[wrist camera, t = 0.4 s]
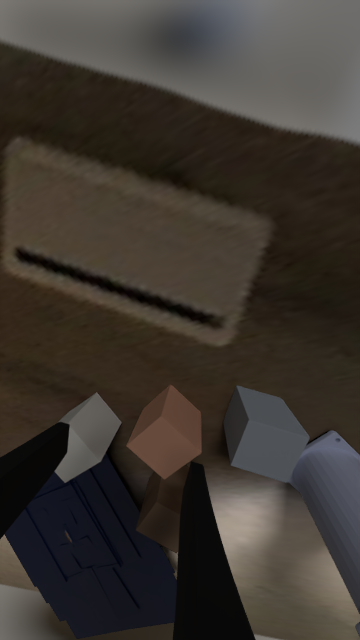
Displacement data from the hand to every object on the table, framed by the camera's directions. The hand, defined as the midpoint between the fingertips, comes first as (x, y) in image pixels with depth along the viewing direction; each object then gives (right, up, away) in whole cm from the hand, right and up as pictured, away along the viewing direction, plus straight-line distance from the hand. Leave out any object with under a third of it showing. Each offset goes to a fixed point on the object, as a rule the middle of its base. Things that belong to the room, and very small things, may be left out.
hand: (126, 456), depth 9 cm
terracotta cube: (+2, -3, +11) cm, 12 cm away
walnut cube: (+2, -13, +13) cm, 18 cm away
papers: (-12, -23, +17) cm, 31 cm away
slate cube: (+11, -3, +10) cm, 15 cm away
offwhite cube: (-8, -5, +12) cm, 15 cm away
